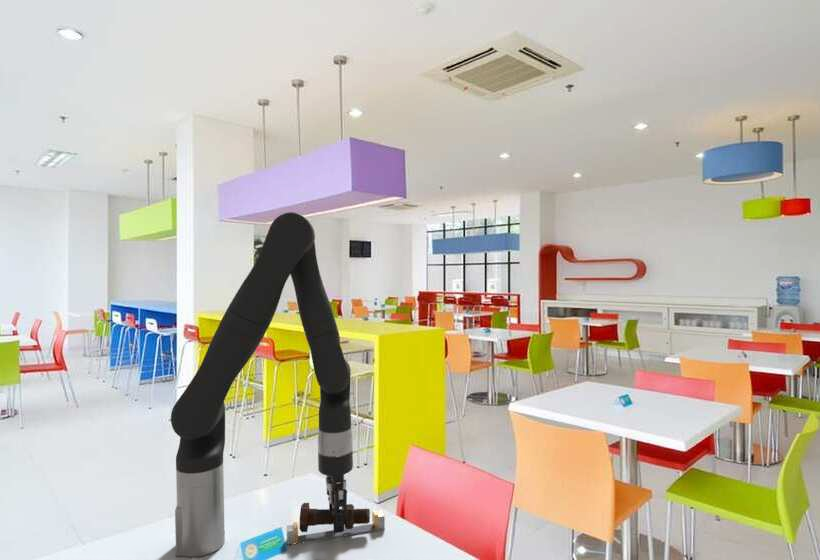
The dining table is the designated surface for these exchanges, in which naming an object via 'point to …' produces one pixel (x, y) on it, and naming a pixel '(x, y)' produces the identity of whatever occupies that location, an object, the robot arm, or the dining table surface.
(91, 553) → the dining table surface
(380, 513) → the small wooden block
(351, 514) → the bolt
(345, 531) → the pad
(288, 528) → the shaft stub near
